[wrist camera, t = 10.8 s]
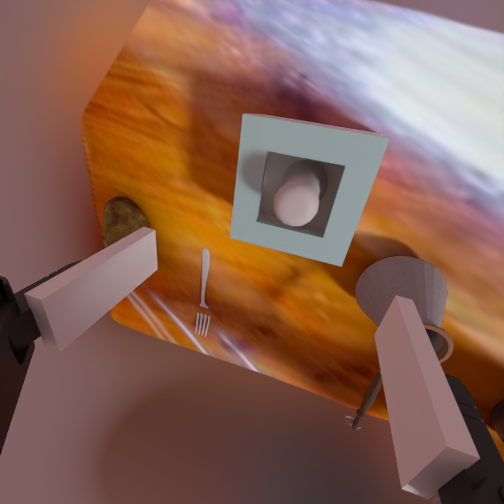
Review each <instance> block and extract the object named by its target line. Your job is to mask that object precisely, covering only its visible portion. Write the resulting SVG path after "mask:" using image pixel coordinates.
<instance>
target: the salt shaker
mask: <svg viewBox="0 0 504 504" xmlns="http://www.w3.org/2000/svg"><path fill="white" fill-rule="evenodd" d="M327 185H328V178H327V175H326V171H325V170H324V169H323V168H322V167H321V165H320V164H319V163H317V162H314V161H311V160H309V159H306V160H300V161H296V162H295V163H293V164H292V165H290V166H289V167H288V168H287V170H286V171H285V173H284V175H283V178H282V187H280V188H279V190H278V192H277V194H276V195H275V198H274V210H275V213H276V216H277V217H278V218H279V219H280V220H281V221H282V222H283V223H284V224H287V225H290V226H303V225H304V224H306V223H308V222H310V221H311V220H312V219H313V217H314V216H315V215H316V213H317V212H318V206H319V200H320V199H321V198H322V196H323V195H324V194H325V192H326V190H327Z"/></svg>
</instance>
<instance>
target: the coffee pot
mask: <svg viewBox="0 0 504 504" xmlns="http://www.w3.org/2000/svg"><path fill="white" fill-rule="evenodd" d="M447 293H448V291H447V282H446V280H445V278H444V276H443V274H442V273H441V272H440V271H439V270H438V269H437V268H436V267H435V266H434V265H432V264H430V263H428V262H426V261H424V260H422V259H418V258H414V257H410V256H393V257H387V258H384V259H381V260H379V261H376V262H375V263H373V264H372V265H370V266H369V267H367V268H366V270H365V271H364V272H363V273H362V274H361V275H360V277H359V279H358V281H357V283H356V288H355V296H356V300H357V303H358V304H359V306H360V308H361V309H362V311H363V312H364V313H365V314H366V315H367V316H368V317H369V318H370V319H371V320H372V321H373V322H374V323H375V324H376V325H377V326H378V327H379V325H380V324H381V322H382V320H383V318H384V316H385V314H386V312H387V311H388V309H389V307H390V305H391V303H392V301H393V299H394V298H395V296H396V295H397V296H400V297H404V298H408V299H411V300H413V302H414V304H415V306H416V309H417V311H418V313H419V316H420V318H421V320H422V323H423V325H424V328H425V330H426V332H427V335H428V337H429V339H430V342H431V344H432V346H433V349H434V351H435V353H436V356H437V358H438V360H439V363H442V362H444V361H445V360H447V359H448V358H449V357H450V356H451V354H452V352H453V349H454V344H453V340H452V338H451V336H450V335H449V334H448V333H447V332H446V331H445V330H444V329H442V328H441V324H442V319H443V314H444V309H445V303H446V298H447ZM382 382H383V381H382V376H381V370H380V371H379V372H378V373H377V375H376V376H375V378H374V380H373V381H372V383H371V385H370V387H369V388H368V390H367V392H366V393H365V395H364V397H363V401H362V404H361V407H360V409H358V410H357V411H356V412H357V416H356V418H353V417H351V416H348V415H347V416H345V418H344V419H345V421H346V422H347V420H346V417H349V418H352V419H353V420H354V421H353V425H351V424H350V423H349V422H347V423H348V424H349V425H350V426H352V428H353V429H355V430H356V429H360V428H361V420H362V419H364V418H366V412H367V410H368V409H369V408H370V407H371V405H372V404H373V403H374V401H375V399H376V396H377V394H378V392H379V389H380V387H381V385H382ZM359 426H360V427H359Z"/></svg>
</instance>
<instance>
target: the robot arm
mask: <svg viewBox="0 0 504 504" xmlns="http://www.w3.org/2000/svg"><path fill="white" fill-rule="evenodd" d="M156 270H158V267H157V250H156V232H155V230H154V229H150V228H147V227H142V228H140V229H139V230H137V231H135V232H133V233H132V234H130V235H128V236H126V237H124V238H123V239H121V240H119V241H117V242H116V243H114V244H112V245H110V246H108V247H107V248H105V249H103V250H101V251H99V252H98V253H96V254H94V255H92V256H91V257H89V258H87V259H85V260H83V261H78V262H75V263H71V264H68V265H67V266H65V267H63V268H61V269H59V270H58V271H57V272H54V273H52V274H50V275H49V276H48V277H45V278H43V279H41V280H39V281H37V282H35V283H34V284H32V285H30V286H28V287H26V288H24V289H22V290H21V291H19V292H17V293H15V294H13V291H12V289H11V286H10V285H9V282H8V280H7V279H6V278H5V277H2V276H0V455H1V452H2V448H3V445H4V442H5V439H6V436H7V433H8V430H9V426H10V423H11V420H12V417H13V414H14V411H15V408H16V405H17V402H18V398H19V395H20V392H21V389H22V386H23V383H24V380H25V377H26V373H27V370H28V367H29V364H30V361H31V358H32V355H33V352H34V349H35V344H34V340H35V339H37V338H38V337H40V336H41V337H42V340H43V342H44V345H45V346H47V347H49V348H52V349H54V350H57V351H59V352H60V351H61V350H63V349H64V348H65V347H66V346H67V345H69V344H70V343H71V342H72V341H73V340H75V339H76V338H77V337H78V336H79V335H80V334H81V333H83V332H84V331H85V330H87V329H88V328H89V327H90V326H91V325H92V324H94V322H96V321H97V320H98V319H99V318H101V317H102V316H103V315H104V314H105V313H107V312H108V311H109V310H110V309H111V308H113V307H114V306H115V305H116V304H117V303H118V302H120V301H121V300H122V299H123V298H124V297H126V296H127V295H128V294H129V293H130V292H131V291H133V290H134V289H135V288H136V287H137V286H139V285H140V284H141V283H142V282H143V281H145V280H146V279H147V278H148V277H149V276H150V275H152V274H153V273H154V272H155V271H156ZM374 336H375V342H376V348H377V353H378V359H379V364H380V370H381V376H382V381H383V387H384V392H385V398H386V404H387V409H388V415H389V420H390V426H391V432H392V436H393V443H394V448H395V454H396V459H397V465H398V471H399V476H400V482H401V487H402V489H404V490H406V491H409V492H412V493H414V494H416V495H419V496H421V497H424V498H426V499H429V498H430V497H431V496H433V495H434V494H435V493H437V492H438V493H439V496H437V498H436V499H435V500H434V502H433V504H504V461H503V459H502V457H501V455H500V453H499V451H498V449H497V447H496V445H495V443H494V441H493V439H492V437H491V435H490V433H489V431H488V429H487V427H486V425H485V424H484V423H483V419H482V416H481V414H480V412H479V411H478V410H477V406H476V404H475V402H474V400H473V398H472V396H471V394H470V392H469V391H468V390H467V389H466V388H465V386H464V385H463V384H462V383H461V382H460V380H459V379H458V378H456V377H453V376H449V375H446V374H444V372H443V370H442V367H441V365H440V363H439V360H438V358H437V356H436V353H435V351H434V349H433V346H432V344H431V342H430V339H429V337H428V335H427V332H426V330H425V328H424V325H423V323H422V320H421V318H420V316H419V313H418V311H417V309H416V306H415V304H414V302H413V300H411V299H408V298H404V297H400V296H397V295H396V296H395V298H394V299H393V301H392V303H391V305H390V307H389V309H388V311H387V312H386V314H385V316H384V318H383V320H382V322H381V324H380V325H379V327H378V329H377V331H376V333H375V335H374ZM491 421H492V424H493V426H494V428H495V430H496V432H497V434H498V436H499V437H500V439H501V440H502V442H503V443H504V401H502V402H501V403H499V404H498V405H497V406H496V407H495V409H494V410H493V412H492V415H491Z"/></svg>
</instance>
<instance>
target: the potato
mask: <svg viewBox="0 0 504 504" xmlns="http://www.w3.org/2000/svg"><path fill="white" fill-rule="evenodd" d="M142 227H147V228H150V225H149V222H148V220H147V218H146V216H145V215H144V213H143V212H142V210H141V209H140V208H139V207H138V206H137V205H135V204H134V203H133V202H132V201H131V200H129V199H127V198H124V197H115V198H113V199H111V200H110V201H108V202H107V204H106V205H105V208H104V216H103V236H102V239H103V244H104V248H107V247H108V246H110V245H112V244H114V243H116V242H117V241H119V240H121V239H123V238H124V237H126V236H128V235H130V234H132V233H133V232H135V231H137V230H139V229H140V228H142ZM150 229H151V228H150Z"/></svg>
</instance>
